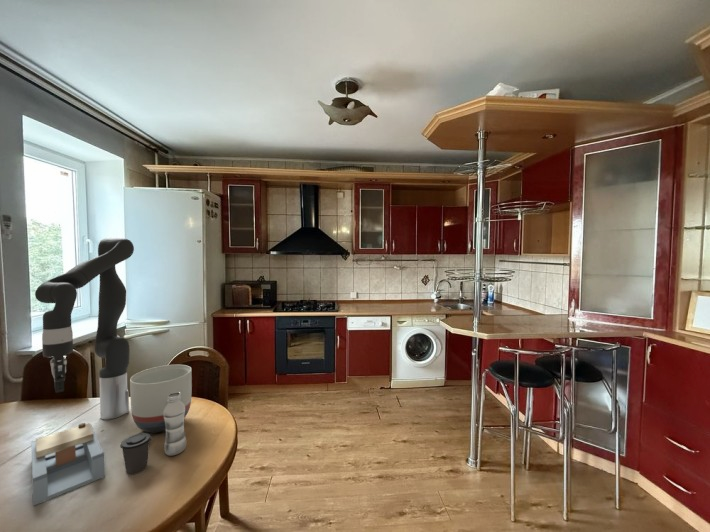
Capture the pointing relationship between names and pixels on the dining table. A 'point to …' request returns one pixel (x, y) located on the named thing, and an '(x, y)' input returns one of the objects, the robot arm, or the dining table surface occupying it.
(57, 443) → the lid
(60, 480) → the stand
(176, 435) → the plastic bottle
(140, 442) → the coffee cup
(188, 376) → the planter
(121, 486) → the dining table surface
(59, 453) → the block
